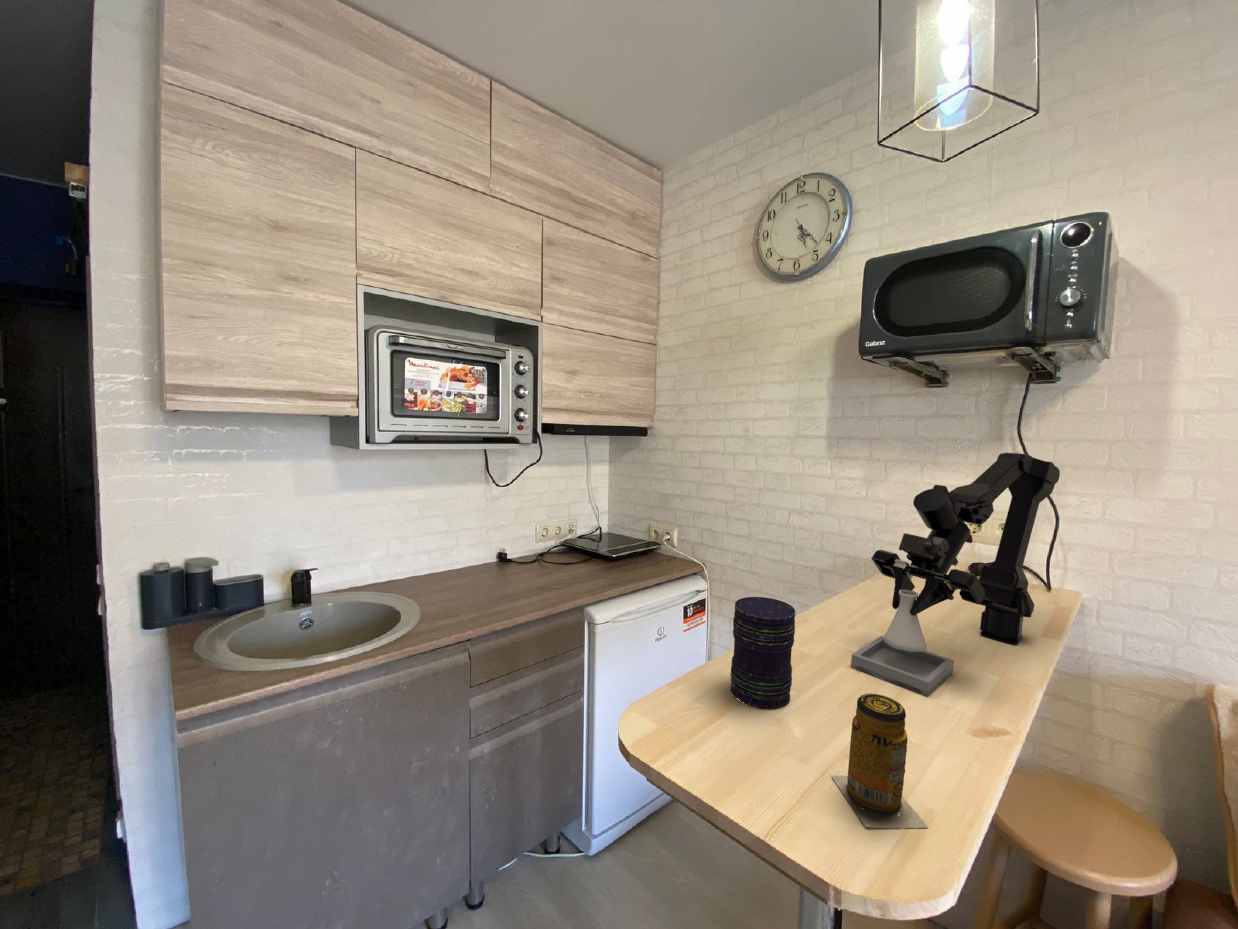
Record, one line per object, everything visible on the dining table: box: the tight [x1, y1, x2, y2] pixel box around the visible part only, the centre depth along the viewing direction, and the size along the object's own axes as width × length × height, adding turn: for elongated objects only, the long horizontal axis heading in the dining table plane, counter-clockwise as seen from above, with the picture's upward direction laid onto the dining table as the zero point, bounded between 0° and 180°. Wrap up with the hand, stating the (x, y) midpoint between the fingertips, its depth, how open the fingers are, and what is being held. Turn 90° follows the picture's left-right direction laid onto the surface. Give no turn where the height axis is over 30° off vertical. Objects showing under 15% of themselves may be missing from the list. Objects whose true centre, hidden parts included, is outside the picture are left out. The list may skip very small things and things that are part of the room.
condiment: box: [831, 693, 928, 830], centre depth 62 cm, size 7×8×12 cm
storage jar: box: [730, 596, 796, 711], centre depth 85 cm, size 10×10×15 cm
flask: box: [883, 590, 927, 652], centre depth 95 cm, size 7×7×10 cm
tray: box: [850, 636, 955, 698], centre depth 95 cm, size 13×13×2 cm
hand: (902, 611), depth 94 cm, fingers closed on flask, 3 cm apart
